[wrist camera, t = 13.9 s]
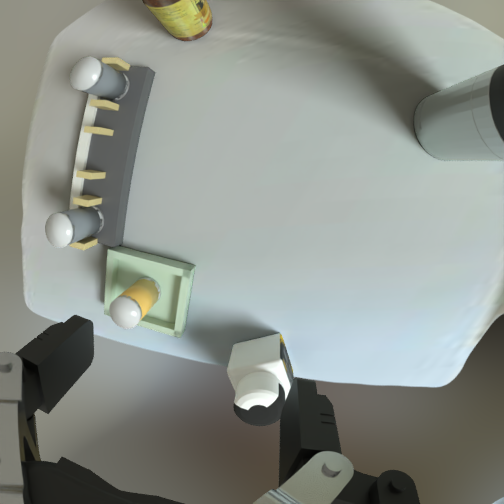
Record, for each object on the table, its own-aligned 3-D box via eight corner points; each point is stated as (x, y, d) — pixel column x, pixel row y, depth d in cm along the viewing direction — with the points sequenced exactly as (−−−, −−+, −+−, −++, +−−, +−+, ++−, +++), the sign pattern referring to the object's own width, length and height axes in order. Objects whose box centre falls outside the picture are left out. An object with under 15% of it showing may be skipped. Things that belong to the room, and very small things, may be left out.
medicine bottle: (293, 371, 45) (296, 426, 33) (247, 381, 46) (239, 436, 34) (281, 331, 43) (281, 383, 32) (232, 343, 44) (219, 395, 33)
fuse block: (155, 71, 36) (138, 57, 30) (122, 244, 42) (101, 255, 36) (106, 69, 36) (85, 58, 30) (77, 232, 42) (54, 241, 36)
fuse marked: (162, 280, 42) (139, 303, 34) (159, 306, 43) (137, 333, 35) (136, 273, 42) (109, 294, 34) (134, 299, 43) (108, 323, 35)
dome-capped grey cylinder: (132, 73, 34) (103, 55, 26) (125, 102, 35) (93, 89, 27) (107, 73, 34) (75, 57, 26) (100, 100, 35) (66, 89, 27)
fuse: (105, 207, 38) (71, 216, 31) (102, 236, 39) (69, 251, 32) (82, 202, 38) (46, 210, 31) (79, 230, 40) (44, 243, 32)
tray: (195, 265, 42) (190, 271, 40) (185, 329, 45) (180, 338, 42) (116, 245, 42) (107, 249, 40) (111, 307, 45) (104, 314, 42)
